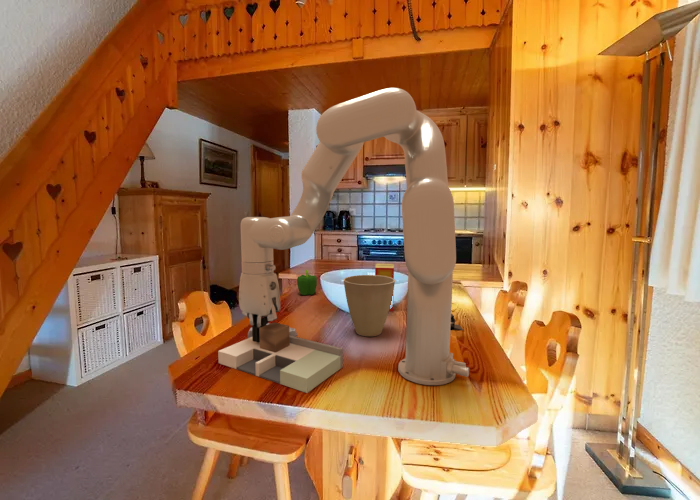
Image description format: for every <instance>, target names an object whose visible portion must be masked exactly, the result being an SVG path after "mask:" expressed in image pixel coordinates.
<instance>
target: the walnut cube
mask: <svg viewBox="0 0 700 500" xmlns="http://www.w3.org/2000/svg"><path fill="white" fill-rule="evenodd" d="M289 327H290V325H288V324H284V323H280V322H279V323H278V322H275V321H274V322H273V321H272V322H271V323H270V324H268V325H266V326H263V327H261V328H259V336H260V348H261V349H265V350H268V351H272V352H275V353H276V352H278V351H280V350H282V349H284V348H286V347H288V346H290V337H289Z"/></svg>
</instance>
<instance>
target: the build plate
mask: <svg viewBox="0 0 700 500" xmlns="http://www.w3.org/2000/svg"><path fill="white" fill-rule="evenodd" d="M455 323H456V318H455V315H454V314H453V313H452V312H451V328H450V331H464V329H463V327H461V325H460V324H455Z"/></svg>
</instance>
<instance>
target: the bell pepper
mask: <svg viewBox="0 0 700 500" xmlns="http://www.w3.org/2000/svg"><path fill="white" fill-rule="evenodd" d="M296 282H297V283H296V285H297V289H298V292H299V294H300V295H302V296H308V295H309V296H310V295H314V294H315V293H316V290H317V285H318V283H317V282H318V278H317V276H316V275H314V274H313V275H312V274H309V270H308V269H305V274H301V275H299V276H297V279H296Z"/></svg>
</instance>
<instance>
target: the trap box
mask: <svg viewBox="0 0 700 500" xmlns="http://www.w3.org/2000/svg"><path fill="white" fill-rule="evenodd" d="M289 337H290V346H288V347H286V348H284V349H282V350H280V351H278V352H276V353H275V352H272V351H268V350H265V349H261V348H260V342H256V341H255V342H254V341H253V340H252V337H250V338H248V337H247V338H245V339H243V340H241V341H239V342H236V343H233V344H231V345H229V346H226V347H224V348H222V349H219V350H218V351H217V353H218V354H217V355H218V357H217V358H218V364H220V365H223V366H226V367H229V368H232V369H235V370H238V371H240V372H243V373H247V374H249V375H252V376H255V377H259V378H262V379H265V380H267V381H270V382H273V383H276V384H279V385H283V386H286V387H288V388H291V389H294V390H297V391H299V392H303V393H306V394H308V393H310V392H311V391H312V390H314V388H316V387H318V386H319V385H320V384H322V382H324V381H326V380H327V379H328V378H329V377H331V376H332V375H334V374H335V373H337V372H338V371H339V370H341V369H342V368H343V365H344V364H343V363H344V361H343V357H344V355H343V354H344V352H343V351H344V348H343V347H340V346H334V345H332V344H331V345H330V344H327V343H323V342H317V341H314V340H310V339H306V338H302V337H298V336H296V337H294V336H290V335H289Z"/></svg>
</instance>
